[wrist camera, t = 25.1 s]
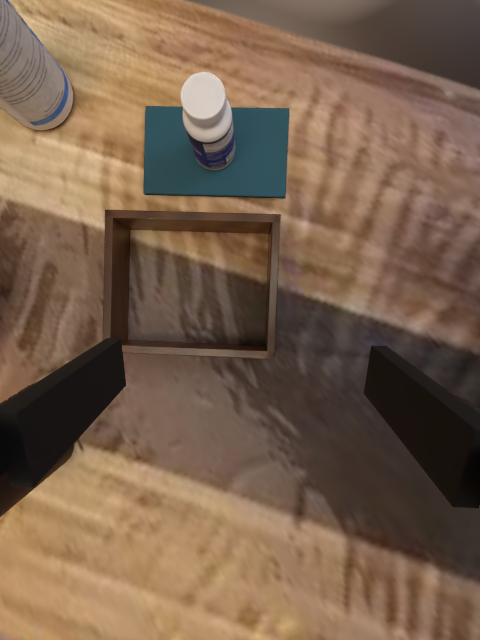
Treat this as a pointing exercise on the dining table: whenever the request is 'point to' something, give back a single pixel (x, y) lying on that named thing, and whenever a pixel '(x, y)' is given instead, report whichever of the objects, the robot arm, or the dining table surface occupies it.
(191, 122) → the pill bottle
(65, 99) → the supplement tub
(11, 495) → the vinegar
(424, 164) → the dining table surface
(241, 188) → the mat
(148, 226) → the wooden tray
